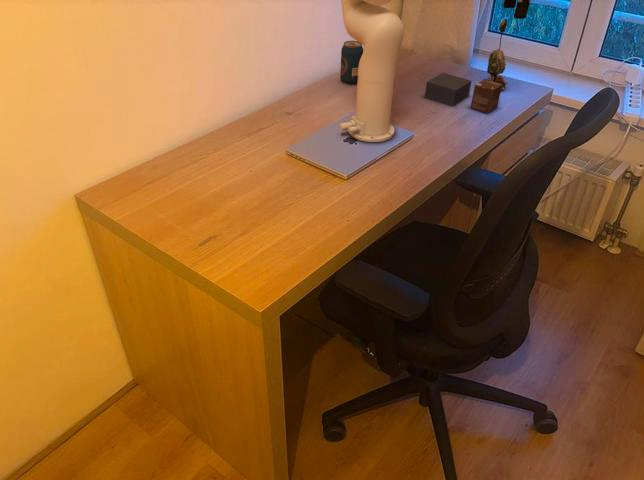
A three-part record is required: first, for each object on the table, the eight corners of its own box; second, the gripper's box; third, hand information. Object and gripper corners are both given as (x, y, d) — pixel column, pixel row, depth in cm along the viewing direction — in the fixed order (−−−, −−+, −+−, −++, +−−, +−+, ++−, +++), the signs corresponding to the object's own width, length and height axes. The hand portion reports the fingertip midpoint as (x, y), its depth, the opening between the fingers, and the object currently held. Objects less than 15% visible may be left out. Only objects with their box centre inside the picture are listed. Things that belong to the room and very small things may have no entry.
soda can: (337, 78, 177) (338, 41, 169) (356, 76, 179) (359, 39, 171) (344, 86, 172) (346, 48, 164) (364, 84, 174) (367, 46, 166)
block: (452, 106, 162) (455, 90, 158) (424, 97, 167) (426, 81, 163) (468, 96, 168) (471, 80, 164) (440, 87, 172) (443, 72, 169)
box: (497, 108, 161) (503, 84, 157) (487, 114, 158) (493, 90, 153) (479, 102, 164) (484, 78, 160) (469, 108, 161) (474, 84, 156)
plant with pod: (473, 88, 172) (487, 22, 159) (489, 78, 179) (504, 14, 166) (497, 95, 169) (513, 28, 155) (512, 84, 175) (529, 19, 162)
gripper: (506, -67, 141) (491, 3, 152) (527, -54, 128) (509, 22, 139) (534, -67, 141) (518, 4, 152) (558, -54, 128) (538, 22, 139)
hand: (514, 12), depth 146 cm, fingers open, 9 cm apart
